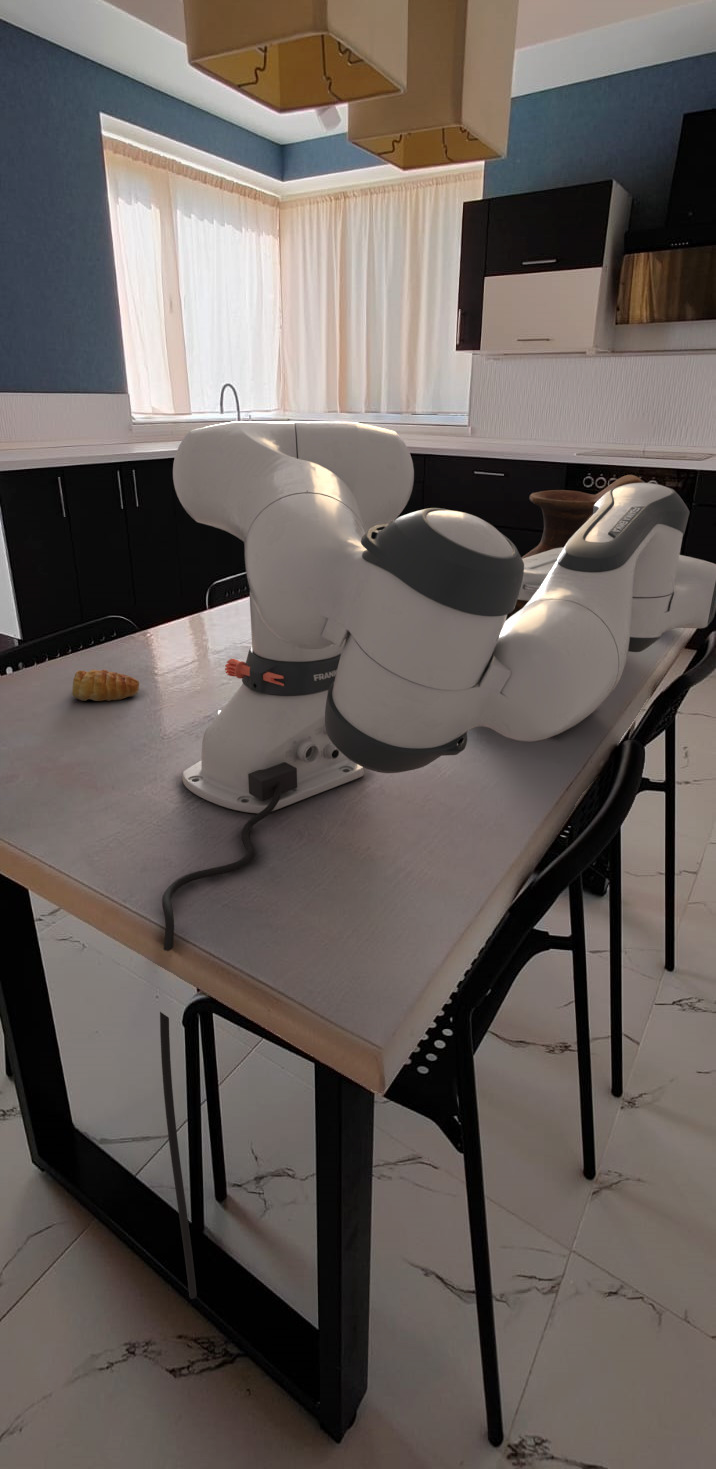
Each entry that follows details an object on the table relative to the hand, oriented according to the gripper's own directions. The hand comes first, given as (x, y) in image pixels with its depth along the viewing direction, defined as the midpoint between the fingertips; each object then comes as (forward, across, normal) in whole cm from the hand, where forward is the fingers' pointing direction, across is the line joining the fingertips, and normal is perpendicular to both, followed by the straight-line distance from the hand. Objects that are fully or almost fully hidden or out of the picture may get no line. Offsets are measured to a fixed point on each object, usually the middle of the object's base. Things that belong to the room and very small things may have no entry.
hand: (493, 565), depth 107 cm
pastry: (+46, -34, -20) cm, 61 cm away
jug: (+5, +34, -20) cm, 40 cm away
